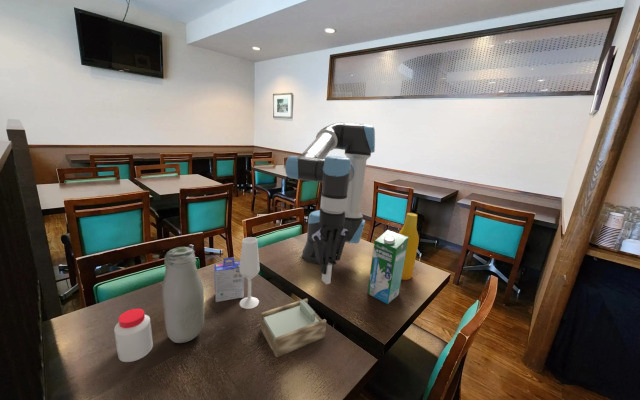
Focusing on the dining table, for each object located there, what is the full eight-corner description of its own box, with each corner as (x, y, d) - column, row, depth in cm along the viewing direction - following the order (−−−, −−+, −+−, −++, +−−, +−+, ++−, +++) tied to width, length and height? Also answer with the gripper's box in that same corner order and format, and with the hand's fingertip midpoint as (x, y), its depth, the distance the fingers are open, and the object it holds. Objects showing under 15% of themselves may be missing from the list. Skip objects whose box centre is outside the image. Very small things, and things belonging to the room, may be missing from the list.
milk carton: (367, 293, 105) (375, 234, 98) (378, 284, 111) (387, 229, 105) (387, 304, 99) (397, 242, 92) (398, 294, 105) (408, 236, 99)
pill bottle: (114, 365, 66) (108, 329, 64) (122, 343, 73) (117, 309, 70) (150, 357, 70) (146, 322, 67) (154, 336, 76) (151, 303, 74)
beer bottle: (403, 268, 127) (414, 210, 119) (416, 279, 118) (428, 217, 111) (387, 270, 124) (396, 211, 116) (398, 281, 115) (409, 218, 108)
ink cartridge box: (242, 289, 101) (242, 254, 97) (244, 297, 96) (244, 261, 93) (214, 293, 97) (213, 257, 94) (215, 302, 92) (214, 265, 89)
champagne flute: (251, 311, 90) (252, 246, 84) (235, 305, 92) (234, 241, 86) (262, 299, 96) (264, 238, 90) (246, 294, 98) (247, 234, 92)
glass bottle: (192, 319, 84) (188, 237, 77) (211, 335, 78) (208, 248, 71) (159, 338, 76) (150, 248, 69) (178, 357, 70) (170, 261, 63)
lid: (304, 307, 88) (304, 297, 87) (319, 325, 80) (320, 314, 79) (263, 320, 80) (263, 310, 79) (276, 341, 73) (276, 330, 72)
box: (305, 313, 91) (306, 298, 89) (324, 337, 81) (326, 320, 79) (260, 329, 82) (260, 312, 81) (276, 357, 72) (276, 339, 71)
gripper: (342, 204, 84) (335, 271, 90) (307, 208, 77) (302, 280, 83) (358, 211, 78) (349, 282, 84) (321, 216, 71) (314, 293, 77)
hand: (325, 281), depth 83 cm, fingers closed
